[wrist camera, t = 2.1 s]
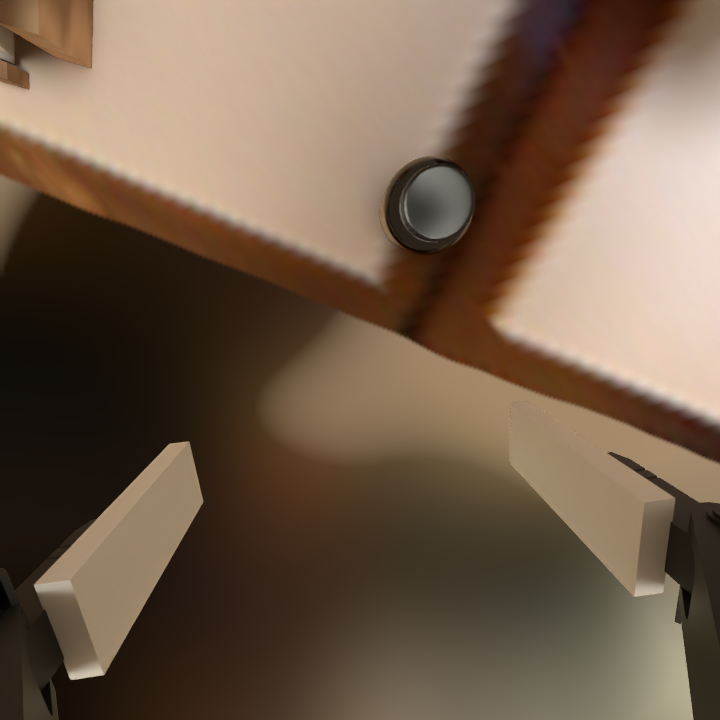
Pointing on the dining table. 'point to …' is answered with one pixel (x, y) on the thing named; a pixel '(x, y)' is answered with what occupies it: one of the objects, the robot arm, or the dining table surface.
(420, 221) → the supplement bottle
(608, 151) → the dining table surface
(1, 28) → the panel
